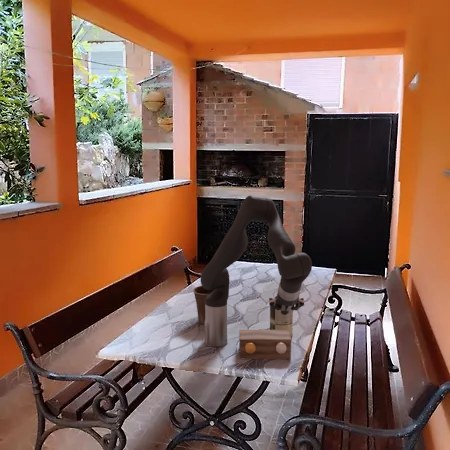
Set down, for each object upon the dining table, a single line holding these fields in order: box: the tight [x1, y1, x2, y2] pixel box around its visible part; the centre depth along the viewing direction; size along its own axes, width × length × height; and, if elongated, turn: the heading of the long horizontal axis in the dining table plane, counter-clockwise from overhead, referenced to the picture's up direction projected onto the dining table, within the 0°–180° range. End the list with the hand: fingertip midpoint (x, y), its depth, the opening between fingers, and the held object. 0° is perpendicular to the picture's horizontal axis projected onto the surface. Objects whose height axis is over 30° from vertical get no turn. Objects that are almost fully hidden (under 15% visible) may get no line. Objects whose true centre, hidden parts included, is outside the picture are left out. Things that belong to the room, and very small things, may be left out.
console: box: [238, 329, 292, 360], centre depth 194 cm, size 10×20×8 cm, turn 90°
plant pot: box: [192, 285, 214, 326], centre depth 229 cm, size 16×16×16 cm
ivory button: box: [276, 342, 286, 354], centre depth 190 cm, size 6×4×4 cm, turn 0°
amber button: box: [245, 342, 256, 354], centre depth 191 cm, size 6×4×4 cm, turn 0°
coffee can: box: [269, 305, 294, 337], centre depth 214 cm, size 10×10×14 cm
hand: (284, 312), depth 178 cm, fingers closed
